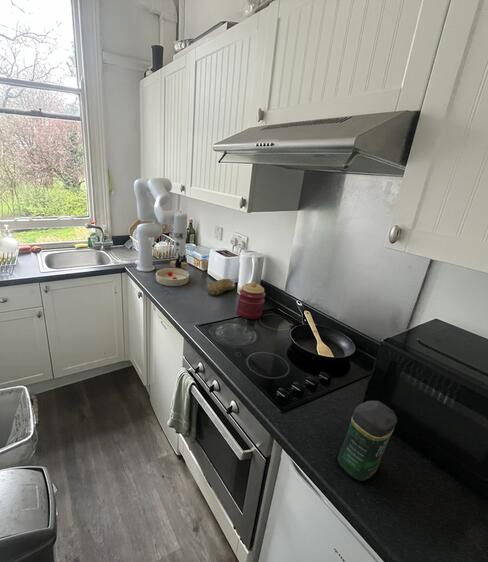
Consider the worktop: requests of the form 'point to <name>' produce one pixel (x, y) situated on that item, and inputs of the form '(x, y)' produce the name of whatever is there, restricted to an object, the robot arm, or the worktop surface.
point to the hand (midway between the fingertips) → (178, 266)
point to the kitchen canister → (251, 301)
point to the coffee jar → (366, 439)
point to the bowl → (168, 280)
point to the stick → (183, 264)
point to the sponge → (220, 286)
